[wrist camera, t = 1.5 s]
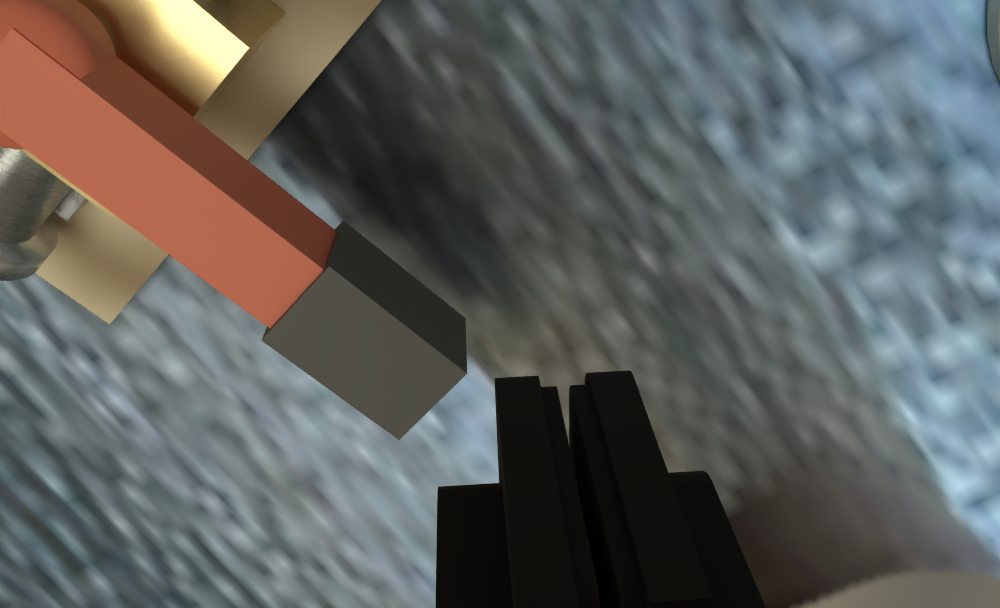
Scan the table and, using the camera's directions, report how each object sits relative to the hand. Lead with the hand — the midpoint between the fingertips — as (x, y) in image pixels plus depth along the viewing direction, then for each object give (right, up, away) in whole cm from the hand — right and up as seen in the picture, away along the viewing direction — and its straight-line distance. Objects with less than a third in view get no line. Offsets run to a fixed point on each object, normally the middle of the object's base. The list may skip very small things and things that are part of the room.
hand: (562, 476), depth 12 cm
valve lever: (-9, +6, +17) cm, 20 cm away
